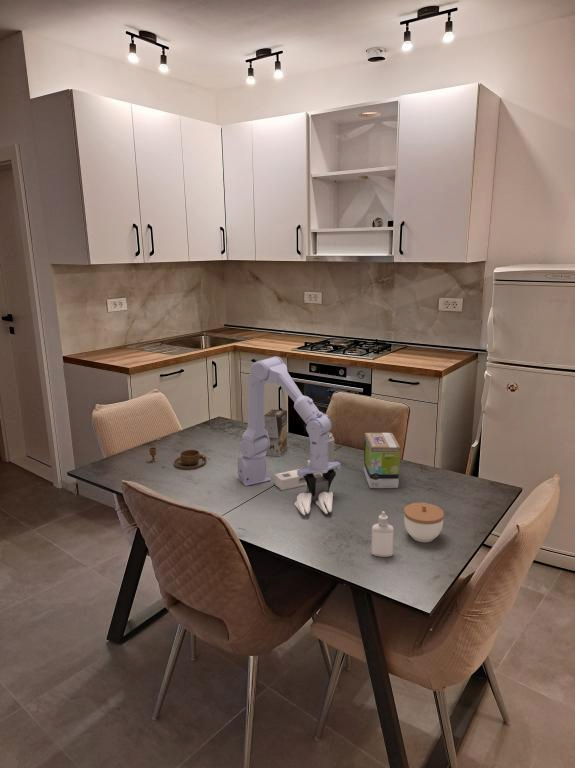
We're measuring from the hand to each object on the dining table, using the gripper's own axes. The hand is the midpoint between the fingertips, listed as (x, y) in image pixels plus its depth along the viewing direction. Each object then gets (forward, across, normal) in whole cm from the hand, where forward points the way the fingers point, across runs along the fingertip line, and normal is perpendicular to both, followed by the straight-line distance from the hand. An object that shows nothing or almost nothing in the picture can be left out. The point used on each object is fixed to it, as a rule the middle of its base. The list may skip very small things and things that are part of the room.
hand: (319, 493), depth 177 cm
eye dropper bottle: (+2, -1, -36) cm, 36 cm away
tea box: (+2, +26, +3) cm, 26 cm away
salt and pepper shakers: (+2, -6, -6) cm, 9 cm away
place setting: (+3, -30, +51) cm, 59 cm away
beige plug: (-2, +6, +14) cm, 15 cm away
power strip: (+2, +1, +14) cm, 14 cm away
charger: (+2, 0, +2) cm, 3 cm away
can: (+2, +15, +23) cm, 28 cm away
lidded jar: (+2, +14, -34) cm, 37 cm away
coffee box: (+2, +5, +43) cm, 44 cm away
